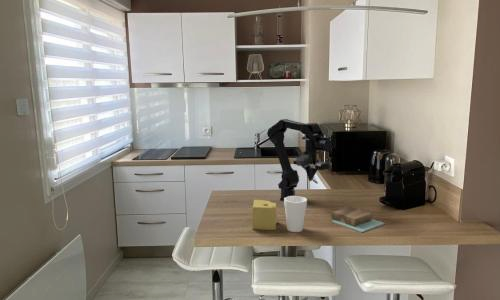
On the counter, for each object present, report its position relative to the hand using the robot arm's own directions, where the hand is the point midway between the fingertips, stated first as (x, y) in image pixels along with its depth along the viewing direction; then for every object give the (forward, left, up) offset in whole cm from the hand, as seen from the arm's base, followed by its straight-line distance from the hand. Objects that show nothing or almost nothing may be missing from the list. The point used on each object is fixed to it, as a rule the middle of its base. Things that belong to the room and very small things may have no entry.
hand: (310, 180), depth 193 cm
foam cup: (+4, -32, -13) cm, 35 cm away
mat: (+26, -13, -13) cm, 32 cm away
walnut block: (+17, -9, -11) cm, 22 cm away
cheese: (-9, -34, -13) cm, 38 cm away
